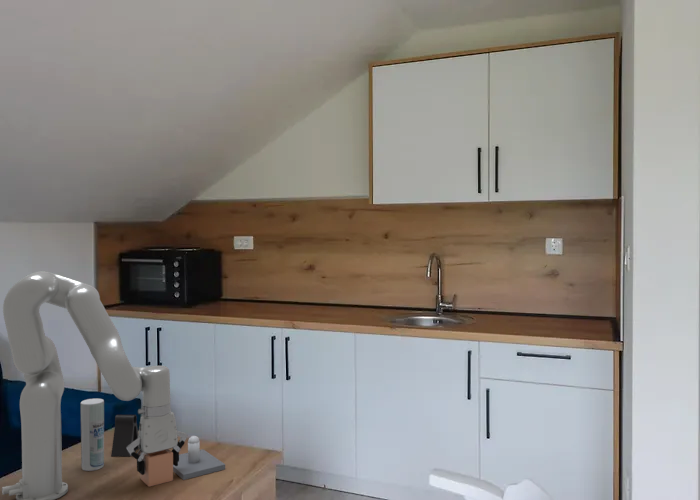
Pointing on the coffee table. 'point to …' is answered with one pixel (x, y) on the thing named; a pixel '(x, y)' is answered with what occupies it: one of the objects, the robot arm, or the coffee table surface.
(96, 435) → the spray can
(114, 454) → the phone stand
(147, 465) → the sleeve
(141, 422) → the robot arm
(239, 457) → the coffee table surface
